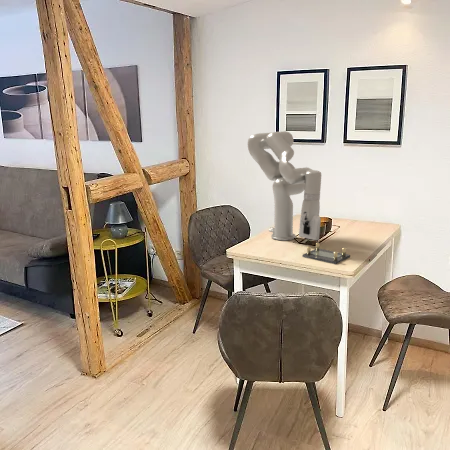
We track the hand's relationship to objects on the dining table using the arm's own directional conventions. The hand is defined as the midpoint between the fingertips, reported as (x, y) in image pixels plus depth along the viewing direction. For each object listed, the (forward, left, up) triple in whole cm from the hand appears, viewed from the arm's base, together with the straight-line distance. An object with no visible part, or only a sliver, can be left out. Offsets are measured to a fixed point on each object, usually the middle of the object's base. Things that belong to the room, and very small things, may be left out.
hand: (309, 232), depth 231 cm
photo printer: (0, 0, -3) cm, 3 cm away
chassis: (+15, -10, -7) cm, 20 cm away
